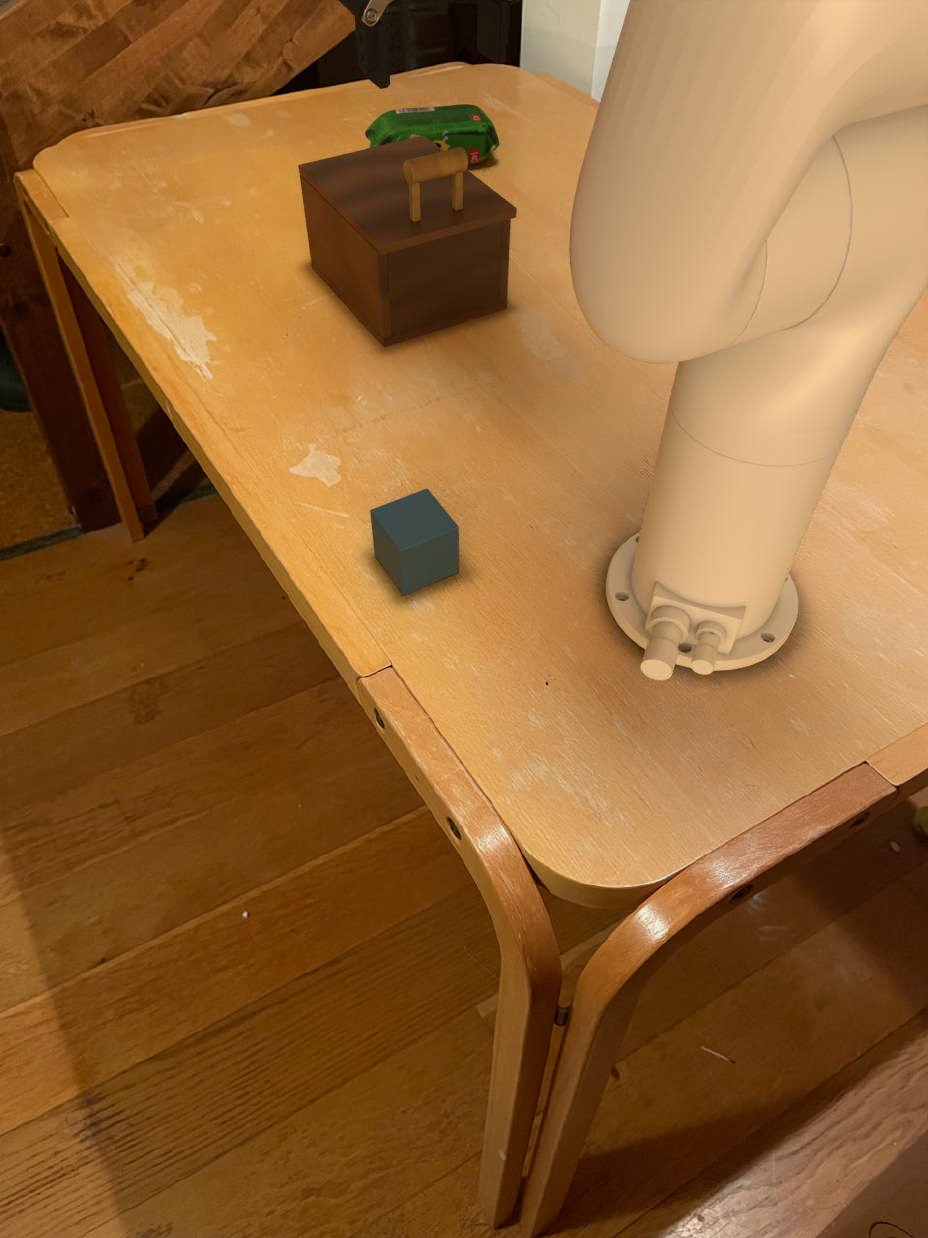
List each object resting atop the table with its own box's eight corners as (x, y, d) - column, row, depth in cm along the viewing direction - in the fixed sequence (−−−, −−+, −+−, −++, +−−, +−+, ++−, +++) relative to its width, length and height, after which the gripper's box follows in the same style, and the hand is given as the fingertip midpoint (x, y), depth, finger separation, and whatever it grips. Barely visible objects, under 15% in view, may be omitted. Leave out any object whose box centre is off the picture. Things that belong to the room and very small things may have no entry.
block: (459, 572, 62) (459, 527, 58) (403, 596, 60) (399, 551, 57) (429, 533, 64) (427, 487, 61) (374, 555, 63) (369, 509, 59)
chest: (507, 308, 83) (511, 213, 76) (384, 347, 79) (376, 251, 72) (426, 235, 92) (423, 144, 85) (311, 266, 88) (299, 174, 81)
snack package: (360, 153, 104) (356, 105, 100) (491, 141, 106) (492, 93, 102) (369, 181, 99) (365, 132, 95) (505, 168, 102) (507, 119, 97)
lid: (516, 217, 76) (520, 148, 71) (381, 255, 72) (376, 184, 67) (423, 143, 85) (421, 78, 81) (299, 173, 81) (290, 106, 76)
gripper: (323, -229, 48) (351, 111, 61) (587, -251, 54) (560, 65, 67) (270, -250, 52) (307, 73, 66) (520, -269, 58) (508, 33, 71)
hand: (435, 69), depth 66 cm, fingers open, 9 cm apart
